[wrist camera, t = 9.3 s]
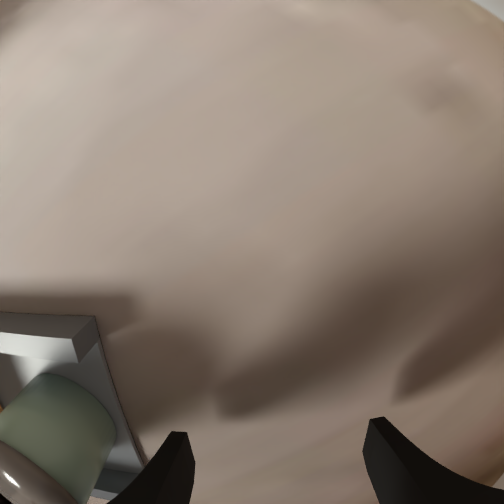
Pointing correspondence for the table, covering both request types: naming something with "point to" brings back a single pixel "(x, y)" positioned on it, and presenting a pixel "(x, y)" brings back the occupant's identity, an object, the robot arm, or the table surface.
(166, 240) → the table surface
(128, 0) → the table surface
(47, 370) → the lane
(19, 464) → the jar
